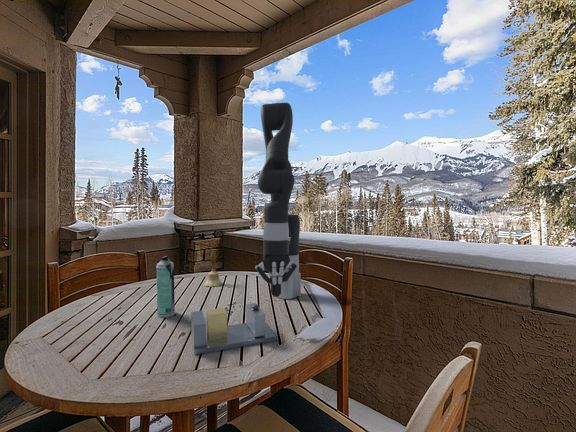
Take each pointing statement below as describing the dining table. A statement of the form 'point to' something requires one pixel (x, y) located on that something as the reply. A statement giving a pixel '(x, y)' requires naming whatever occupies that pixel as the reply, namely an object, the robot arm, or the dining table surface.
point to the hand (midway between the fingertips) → (275, 296)
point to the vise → (235, 338)
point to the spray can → (165, 288)
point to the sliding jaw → (255, 319)
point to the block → (216, 323)
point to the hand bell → (213, 273)
